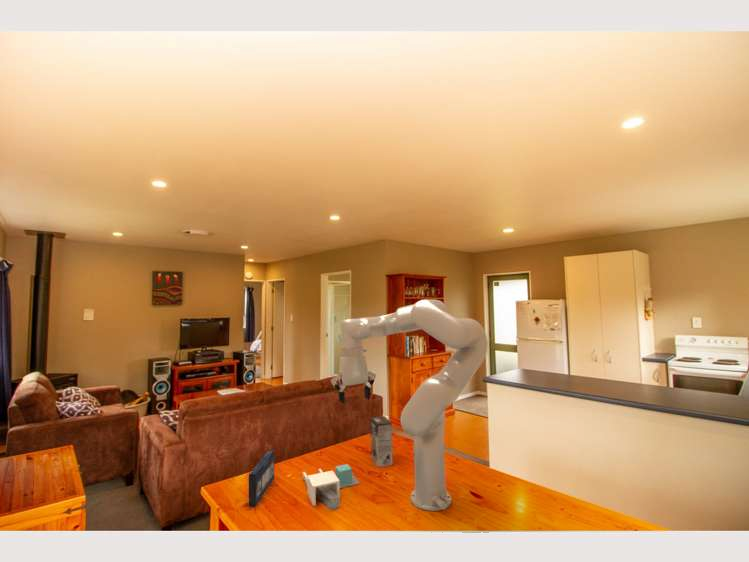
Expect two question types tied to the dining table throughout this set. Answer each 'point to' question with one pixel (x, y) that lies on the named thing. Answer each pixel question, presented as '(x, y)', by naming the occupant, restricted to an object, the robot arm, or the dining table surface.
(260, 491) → the vhs cassette tape
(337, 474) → the block
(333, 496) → the rod
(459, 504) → the dining table surface
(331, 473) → the white box
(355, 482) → the mat
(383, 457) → the coffee box
